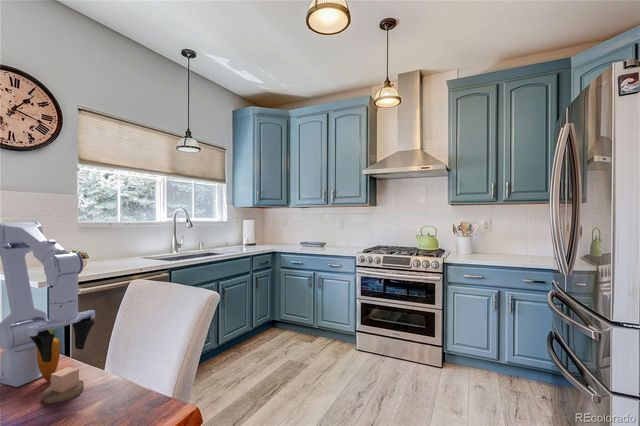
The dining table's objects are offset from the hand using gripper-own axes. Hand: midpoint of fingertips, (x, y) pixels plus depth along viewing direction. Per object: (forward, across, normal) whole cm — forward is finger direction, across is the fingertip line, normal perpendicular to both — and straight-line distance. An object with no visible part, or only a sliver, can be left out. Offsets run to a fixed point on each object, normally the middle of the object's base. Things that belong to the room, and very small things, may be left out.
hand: (63, 354), depth 80 cm
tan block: (+8, 0, 0) cm, 8 cm away
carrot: (+10, +3, +11) cm, 15 cm away
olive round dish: (+10, 0, 0) cm, 10 cm away
